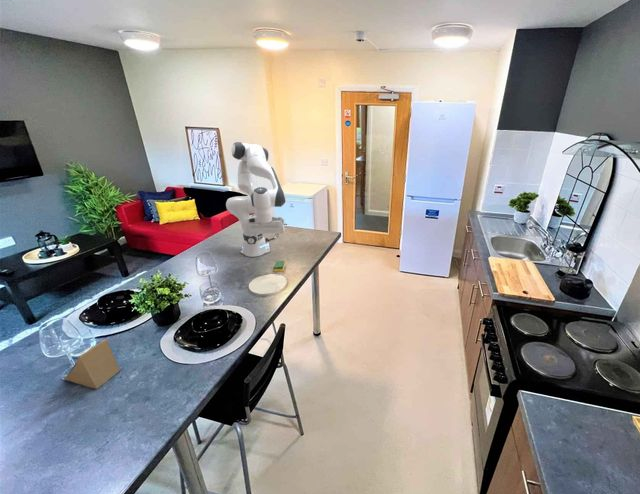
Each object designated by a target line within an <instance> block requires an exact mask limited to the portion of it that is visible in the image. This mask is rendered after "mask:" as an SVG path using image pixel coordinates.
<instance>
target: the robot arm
mask: <svg viewBox="0 0 640 494" xmlns="http://www.w3.org/2000/svg"><path fill="white" fill-rule="evenodd" d="M231 155H232V156H231V157H233V158H234V159H236V160H238V161H239V163H238V166H237V187H238V190H240V191H241V192H244V193H246V194H248V195H241V196H240V195H239V196H237V195H236V196H232V197H229V198H227V200H226V202H225V207H226V210H227V212H228V213H230V214H231V215H233V216H234V217H236V218H237V219H238V221H239V222H240V224H241V229H242V232H243V233H242V238H243V240H242V241H241V248H242V249H241V251H240V254H243V255H244V256H245V257H249V258H250V257H251V258H253V257H260V256H263V255H265V254H267V253H270V252H271V249H270V248H271V247H270V242H269V241H272V240H274V241H277V240H278V236H279V234H283V233H284V232H285V225H286V226H288V224H287V223H285V219H284V218H283V217H281V216H273V210H272V208H273V207H275V208H279V207H280V208H281V207H283V206H284V205H285V204H286V194H285V193H284V191H283V188H282V186H281V183H280V181H279V178H278V176H277V173H276V171H275V169H274V168H273V167H272V166H270V165H269V163H268V160H269V151H268V149H267V148H265V147H263V146H261V145H259V144H256V143H253V144H250V143H245V142H241V141H235V142H234V143H233V144H232V146H231ZM257 177H259V178H263V179H267V180H269V182H270V183H271V185H272V188H273V189H268V188H266V187H263V186H260V187H258V181H257ZM265 234H267V235H268V234H274V237H272V238H268V237H265V236H264V235H265Z"/></svg>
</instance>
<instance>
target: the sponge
mask: <svg viewBox="0 0 640 494" xmlns="http://www.w3.org/2000/svg"><path fill="white" fill-rule="evenodd" d="M285 266H286V261H285V260H276V261H275V262H274V266H273V272H274V273H279V272H284V270H285Z"/></svg>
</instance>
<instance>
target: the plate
mask: <svg viewBox="0 0 640 494" xmlns="http://www.w3.org/2000/svg"><path fill="white" fill-rule="evenodd" d="M287 283H288V280H287V277H285V276H283V275H281V274H278V273H268V274H262V275H260V276H258V277H255V278H254V279H252V280H251V281H250V282H249V284H248V290H250V291H251V292H252V293H255V294H259V295H266V294H267V295H268V294H273V293H276V292H278V291H280V290H283V288H284V287H286V285H287Z"/></svg>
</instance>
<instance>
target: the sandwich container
mask: <svg viewBox="0 0 640 494" xmlns="http://www.w3.org/2000/svg"><path fill="white" fill-rule="evenodd" d="M120 371H121V369H120V367H119V364H118V362H117V359H116V358H115V355H114V353H113V351H112V349H111V346H110V344H109V341H108V339H107V338H106V339H103V340H102V341H100V342H99V343H96V344H95V345H94V346H92V347H91V348H89V349H88V350H86V351H85V352H84V353H82V354H81V355H79V356H78V358H77V360H76V361H75V363H74V365H73V366H72V367H71V369H70V370H69V372H68V373H67V375H66V376H65V377H64V380H65V381H68V382H72V383H74V384H77V385H81V386H84V387H87V388H92V389H95V390H97V389H99V388H101V386H102V385H104V384H105V383H107V382H108V381H109V380H111V378H113V377H114V376H115V375H117V374H118V373H119V372H120Z"/></svg>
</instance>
